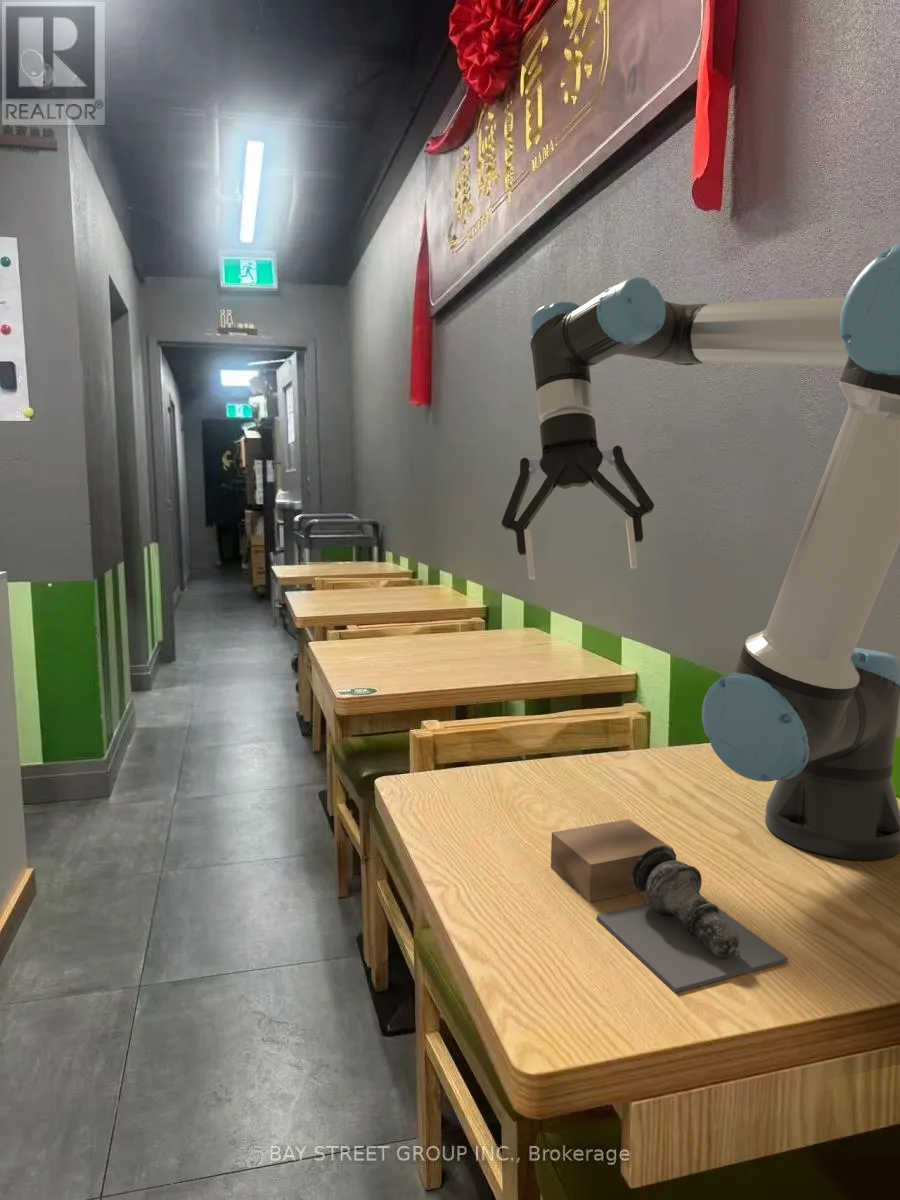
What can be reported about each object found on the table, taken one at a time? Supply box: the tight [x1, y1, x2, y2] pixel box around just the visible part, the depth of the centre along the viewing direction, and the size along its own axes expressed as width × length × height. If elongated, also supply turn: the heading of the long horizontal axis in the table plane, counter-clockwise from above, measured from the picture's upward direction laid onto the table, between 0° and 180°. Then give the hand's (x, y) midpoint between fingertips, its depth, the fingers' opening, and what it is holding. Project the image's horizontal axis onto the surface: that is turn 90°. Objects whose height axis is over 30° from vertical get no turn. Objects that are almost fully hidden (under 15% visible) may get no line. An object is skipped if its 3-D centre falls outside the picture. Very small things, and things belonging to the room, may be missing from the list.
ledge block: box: [550, 818, 674, 903], centre depth 84 cm, size 8×10×4 cm
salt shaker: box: [631, 846, 740, 958], centre depth 72 cm, size 6×6×12 cm
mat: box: [596, 898, 789, 993], centre depth 72 cm, size 12×12×1 cm
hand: (582, 573), depth 105 cm, fingers open, 13 cm apart
